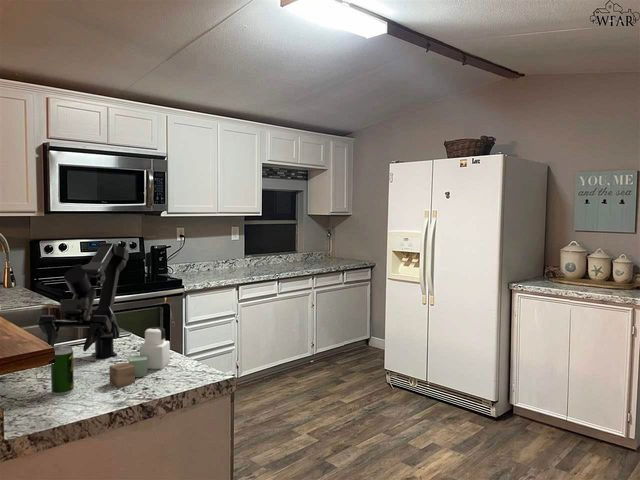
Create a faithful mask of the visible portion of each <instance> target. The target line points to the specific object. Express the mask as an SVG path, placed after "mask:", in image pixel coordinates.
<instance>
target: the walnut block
mask: <svg viewBox="0 0 640 480" xmlns="http://www.w3.org/2000/svg"><path fill="white" fill-rule="evenodd" d="M132 383H133V384H135V383H136V377H135V366H134V365H131V364H129V362H126V361H125V362H121V363H118V364H117V363H116V364H113V365H109V384H110V385H112V384H113V386H114V385H115V386H114V387H115V388H121V387H125V385H126V386H130V385H132Z"/></svg>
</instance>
